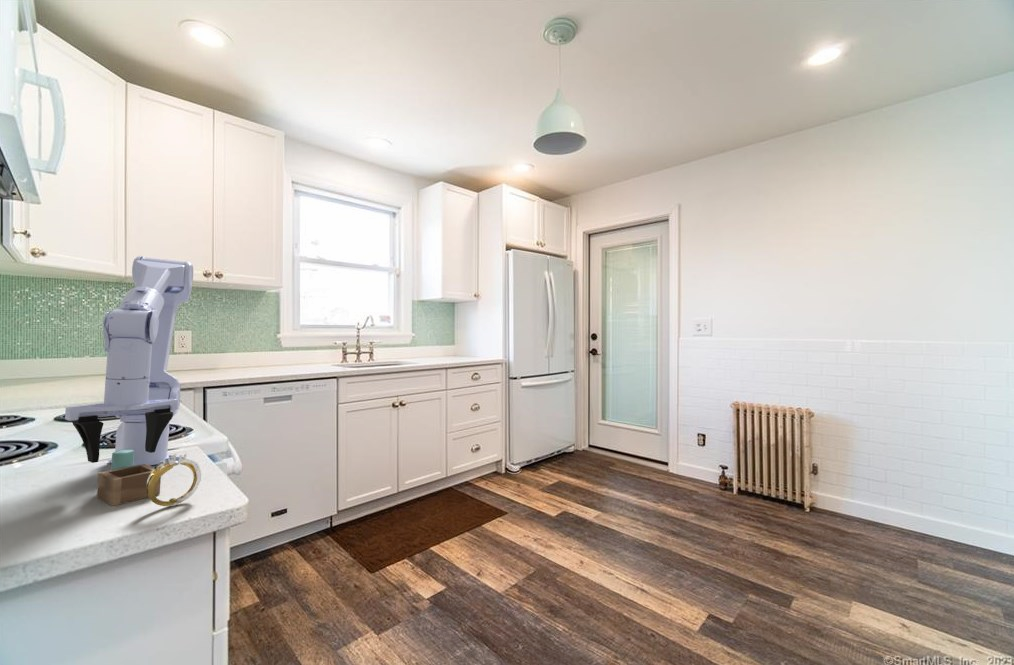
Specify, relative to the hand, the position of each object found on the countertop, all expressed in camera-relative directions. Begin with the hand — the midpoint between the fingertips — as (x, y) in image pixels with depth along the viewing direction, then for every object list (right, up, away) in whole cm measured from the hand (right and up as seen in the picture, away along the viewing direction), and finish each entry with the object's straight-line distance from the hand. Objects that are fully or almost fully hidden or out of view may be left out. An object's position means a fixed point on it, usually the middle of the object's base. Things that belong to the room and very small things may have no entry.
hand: (122, 456), depth 71 cm
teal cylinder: (0, -5, 0) cm, 5 cm away
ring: (+14, -6, -7) cm, 17 cm away
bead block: (+5, -5, -4) cm, 8 cm away
